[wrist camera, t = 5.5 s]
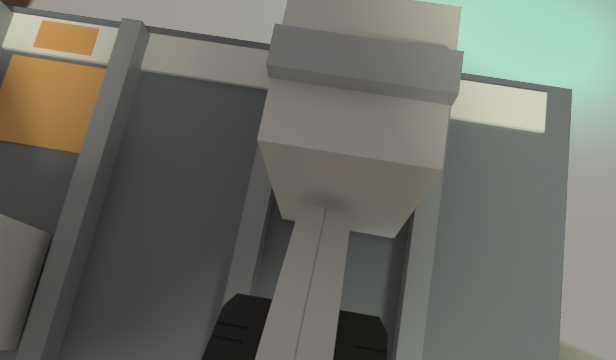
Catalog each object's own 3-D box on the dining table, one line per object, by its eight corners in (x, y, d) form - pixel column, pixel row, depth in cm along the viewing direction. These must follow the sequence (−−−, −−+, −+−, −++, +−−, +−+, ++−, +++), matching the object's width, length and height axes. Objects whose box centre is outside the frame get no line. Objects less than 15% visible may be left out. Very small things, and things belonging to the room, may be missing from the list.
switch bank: (551, 110, 23) (586, 74, 20) (524, 538, 19) (565, 577, 16) (-71, 15, 25) (-126, -30, 22) (-227, 381, 21) (-322, 388, 18)
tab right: (409, 133, 20) (470, -9, 12) (395, 238, 19) (451, 161, 11) (301, 116, 21) (288, -35, 12) (281, 218, 19) (251, 129, 11)
